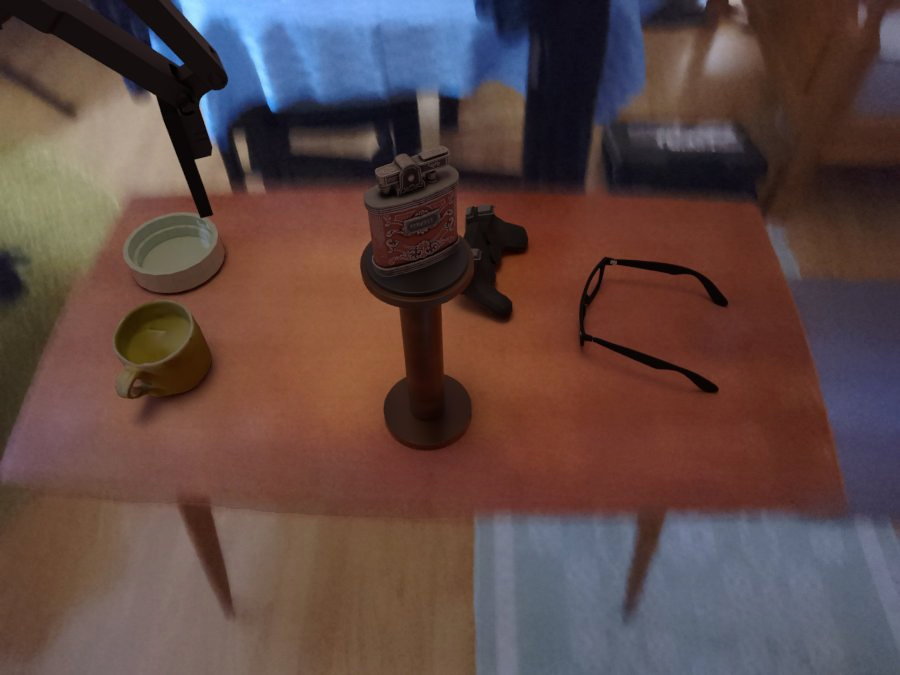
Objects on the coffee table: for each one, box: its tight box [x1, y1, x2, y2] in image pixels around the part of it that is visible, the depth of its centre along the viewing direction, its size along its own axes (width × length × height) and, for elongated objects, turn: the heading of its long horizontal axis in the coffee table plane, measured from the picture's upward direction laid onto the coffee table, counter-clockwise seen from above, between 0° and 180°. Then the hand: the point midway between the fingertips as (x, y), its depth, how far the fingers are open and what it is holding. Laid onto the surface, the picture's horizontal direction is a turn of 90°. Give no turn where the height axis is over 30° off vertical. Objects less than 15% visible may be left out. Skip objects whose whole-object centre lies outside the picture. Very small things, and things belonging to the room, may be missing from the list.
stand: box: [359, 233, 474, 451], centre depth 69 cm, size 10×10×24 cm
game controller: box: [459, 204, 529, 320], centre depth 90 cm, size 16×7×10 cm, turn 167°
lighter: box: [363, 145, 460, 277], centre depth 56 cm, size 8×3×10 cm, turn 118°
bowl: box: [122, 211, 226, 294], centre depth 93 cm, size 12×12×4 cm
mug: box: [111, 298, 212, 400], centre depth 79 cm, size 12×10×10 cm
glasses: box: [578, 256, 729, 393], centre depth 84 cm, size 17×18×5 cm
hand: (82, 236), depth 39 cm, fingers open, 13 cm apart
